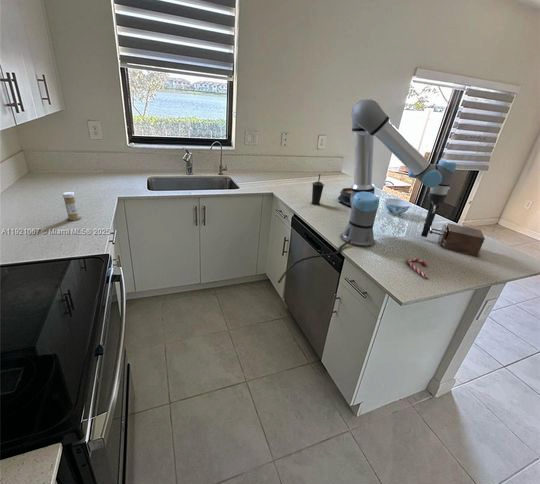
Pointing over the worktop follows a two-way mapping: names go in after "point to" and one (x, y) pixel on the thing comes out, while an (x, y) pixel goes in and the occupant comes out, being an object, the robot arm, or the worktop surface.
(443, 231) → the drawer
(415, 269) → the candy cane
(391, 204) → the chinaware
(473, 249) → the cabinet
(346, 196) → the casserole
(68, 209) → the sprinkles bottle
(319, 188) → the drinking cup
